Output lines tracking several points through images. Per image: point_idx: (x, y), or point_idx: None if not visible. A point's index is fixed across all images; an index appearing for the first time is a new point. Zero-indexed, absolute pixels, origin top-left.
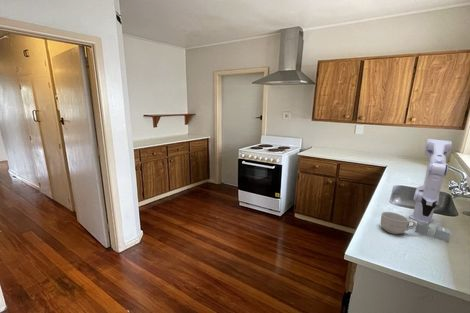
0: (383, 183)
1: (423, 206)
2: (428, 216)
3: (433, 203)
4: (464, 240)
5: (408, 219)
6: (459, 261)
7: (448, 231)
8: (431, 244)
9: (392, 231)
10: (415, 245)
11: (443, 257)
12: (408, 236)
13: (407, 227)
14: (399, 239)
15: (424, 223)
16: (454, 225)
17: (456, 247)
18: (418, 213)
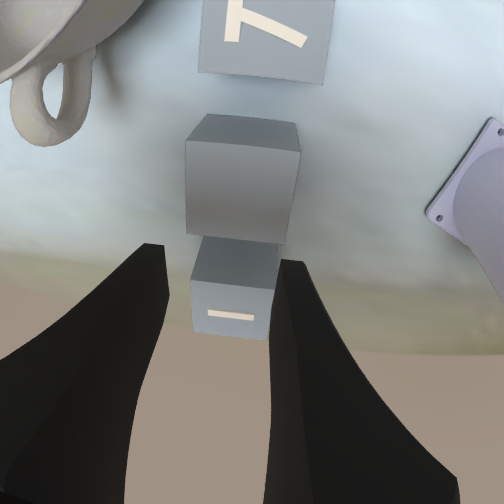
0: None
1: (16, 366)
2: (475, 256)
3: (267, 499)
4: None
5: (253, 56)
6: (51, 284)
7: (222, 330)
8: (93, 206)
9: (2, 4)
10: (14, 135)
11: (24, 240)
12: None
13: (69, 69)
14: None
15: (256, 208)
16: (454, 330)
17: (172, 303)
18: (499, 195)
